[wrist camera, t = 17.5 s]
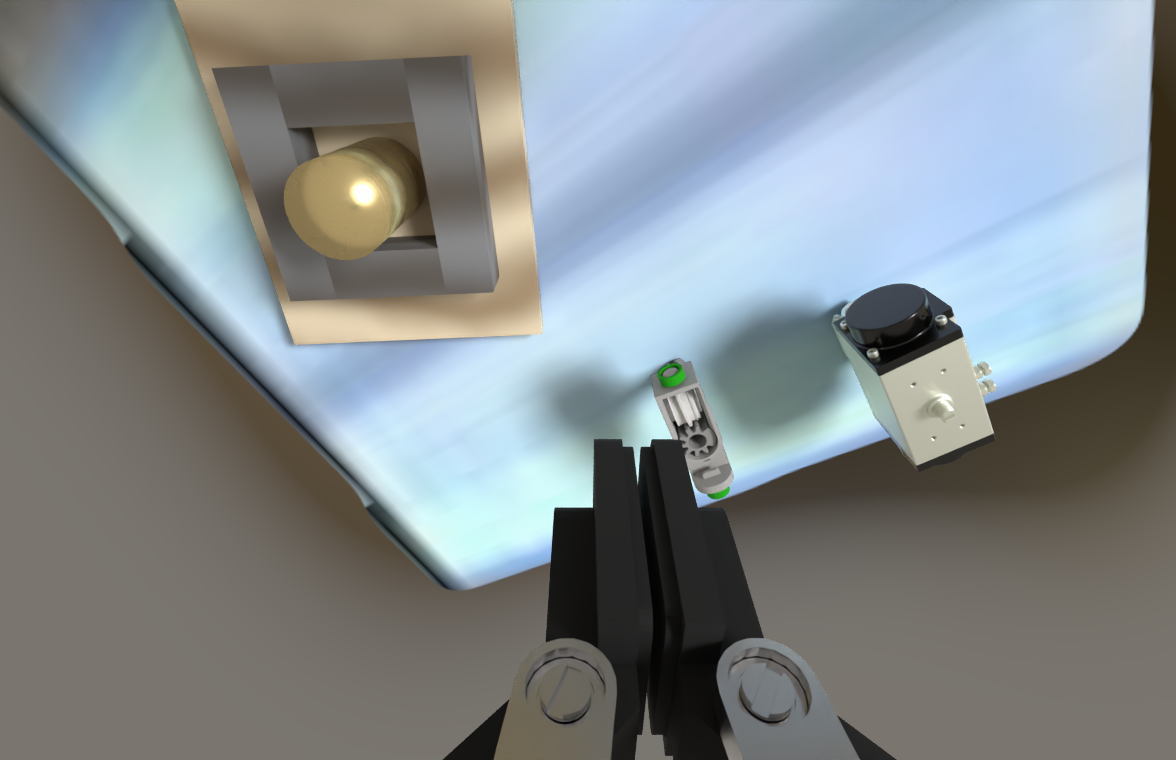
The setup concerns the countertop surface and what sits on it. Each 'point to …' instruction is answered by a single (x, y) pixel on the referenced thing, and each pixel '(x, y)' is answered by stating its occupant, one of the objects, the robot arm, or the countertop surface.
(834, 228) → the countertop surface
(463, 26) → the jig plate
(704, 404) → the mechanical component
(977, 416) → the pneumatic valve
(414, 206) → the tan cylinder
